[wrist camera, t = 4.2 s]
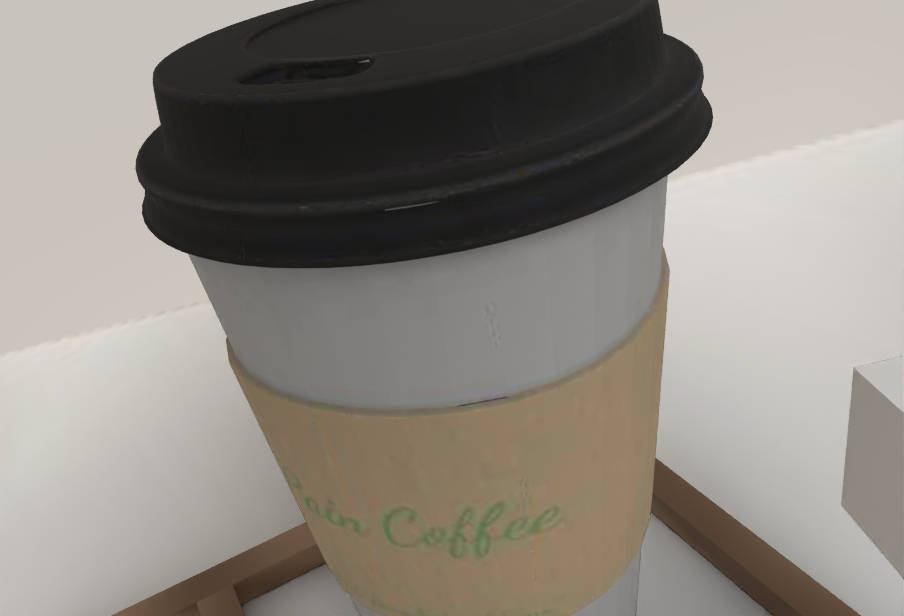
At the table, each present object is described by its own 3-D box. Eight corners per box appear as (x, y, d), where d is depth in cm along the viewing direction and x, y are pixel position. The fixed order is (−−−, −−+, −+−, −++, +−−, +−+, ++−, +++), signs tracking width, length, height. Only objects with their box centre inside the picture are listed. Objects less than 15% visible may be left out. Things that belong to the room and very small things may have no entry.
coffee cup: (313, 883, 17) (-11, 170, 9) (334, 538, 25) (171, 16, 17) (786, 802, 16) (837, 17, 9) (649, 483, 25) (618, -65, 17)
